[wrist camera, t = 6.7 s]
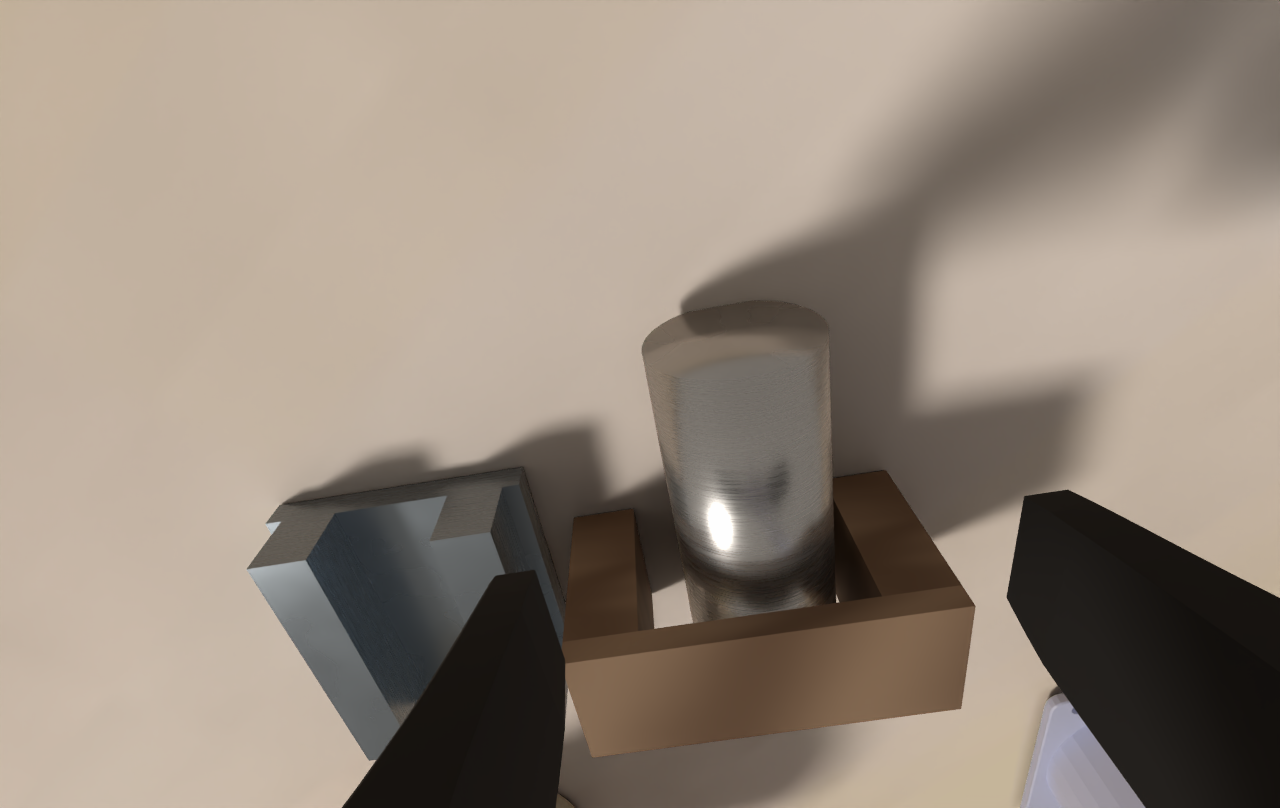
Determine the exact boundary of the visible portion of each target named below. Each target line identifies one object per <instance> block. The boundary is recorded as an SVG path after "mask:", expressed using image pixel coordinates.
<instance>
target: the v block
mask: <svg viewBox="0 0 1280 808" xmlns="http://www.w3.org/2000/svg"><path fill="white" fill-rule="evenodd" d="M266 526H267V527H268V529H269V531H270V533H271V534H272V535H271V536H270V538H269V539H268V540H267V542H266V543H265V545H264V546H263V547H262V549H261V550H260V551H259V553H258V554H257V556H256V557H255V558H254V560H253V561H252V562H251V564H250V565H249V567H248V568H247V571H248V572H249V574H250V576H251V577H252V579H253V580H254V582H255V583H256V585H257V586H258V588H259V590H260V591H261V593H262V594H263V596H264V597H265V599H266V601H267V602H268V604H269V605H270V607H271V608H272V610H273V611H274V613H275V615H276V616H277V618H278V619H279V621H280V622H281V624H282V625H283V627H284V629H285V630H286V632H287V633H288V635H289V636H290V638H291V640H292V641H293V643H294V644H295V646H296V647H297V649H298V650H299V652H300V654H301V655H302V657H303V658H304V660H305V661H306V663H307V665H308V666H309V668H310V669H311V671H312V672H313V674H314V675H315V677H316V679H317V680H318V682H319V683H320V685H321V686H322V688H323V690H324V691H325V693H326V694H327V696H328V697H329V699H330V700H331V702H332V704H333V705H334V707H335V708H336V710H337V711H338V713H339V714H340V716H341V718H342V719H343V721H344V722H345V724H346V725H347V727H348V729H349V730H350V732H351V733H352V735H353V736H354V738H355V739H356V741H357V743H358V744H359V746H360V747H361V749H362V750H363V752H364V754H365V755H366V757H367V758H368V760H369V761H370V760H377V759H378V757H379V756H380V754H381V753H382V752H383V750H384V749H385V747H386V746H387V744H388V743H389V742H390V740H391V739H392V737H393V736H394V734H395V733H396V732H397V730H398V729H399V727H400V726H401V724H402V723H403V722H404V720H405V719H406V717H407V716H408V714H409V713H410V711H411V710H412V708H413V707H414V705H415V703H416V702H417V700H418V699H419V697H420V696H421V694H422V693H423V691H424V689H425V688H426V686H427V685H428V683H429V682H430V680H431V679H432V677H433V675H434V674H435V672H436V671H437V669H438V668H439V666H440V665H441V663H442V661H443V660H444V658H445V657H446V655H447V653H448V652H449V650H450V648H451V647H452V645H453V644H454V642H455V640H456V639H457V637H458V635H459V634H460V632H461V630H462V629H463V627H464V625H465V624H466V622H467V620H468V619H469V617H470V615H471V614H472V612H473V610H474V609H475V607H476V605H477V604H478V602H479V600H480V598H481V597H482V595H483V593H484V592H485V590H486V588H487V587H488V585H489V583H490V582H491V581H492V579H493V578H494V577H495V576H496V575H503V574H509V573H516V572H523V571H529V570H535V571H536V574H537V577H538V580H539V583H540V586H541V589H542V592H543V595H544V598H545V601H546V604H547V607H548V610H549V613H550V616H551V619H552V622H553V625H554V628H555V631H556V634H557V637H558V640H559V643H560V646H561V649H562V641H563V631H564V620H565V609H566V604H565V600H564V597H563V594H562V591H561V588H560V585H559V581H558V578H557V575H556V572H555V569H554V565H553V562H552V559H551V556H550V553H549V549H548V546H547V543H546V540H545V537H544V533H543V530H542V527H541V524H540V521H539V517H538V514H537V511H536V508H535V505H534V501H533V498H532V495H531V492H530V489H529V485H528V482H527V479H526V476H525V473H524V469H523V467H520V468H514V469H507V470H501V471H495V472H488V473H482V474H476V475H469V476H463V477H456V478H450V479H444V480H437V481H431V482H425V483H418V484H412V485H406V486H399V487H393V488H386V489H380V490H374V491H367V492H361V493H355V494H348V495H342V496H336V497H329V498H323V499H317V500H310V501H304V502H297V503H291V504H285V505H279V507H278V508H277V509H276V511H275V512H274V513H273V515H272V516H271V517H270V519H269V520H268V521H267V522H266ZM567 692H568V685H567V682H566V679H565V718H566V705H567Z"/></svg>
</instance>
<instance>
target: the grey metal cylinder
mask: <svg viewBox="0 0 1280 808" xmlns="http://www.w3.org/2000/svg"><path fill="white" fill-rule="evenodd" d="M642 356H643V361H644V366H645V372H646V377H647V382H648V387H649V393H650V398H651V403H652V409H653V414H654V419H655V424H656V430H657V435H658V440H659V446H660V451H661V456H662V461H663V467H664V472H665V477H666V483H667V488H668V493H669V498H670V504H671V509H672V514H673V520H674V525H675V530H676V535H677V541H678V546H679V551H680V557H681V562H682V567H683V572H684V578H685V583H686V588H687V594H688V599H689V604H690V609H691V615H692V620H693V623H699V622H706V621H713V620H720V619H727V618H734V617H741V616H748V615H755V614H762V613H769V612H776V611H783V610H790V609H797V608H804V607H811V606H818V605H825V604H833V603H836V583H835V545H834V508H833V470H832V432H831V394H830V357H829V327H828V324H827V322H826V321H825V319H824V318H823V317H822V316H820V315H819V314H818V313H816V312H814V311H813V310H810V309H808V308H805V307H802V306H799V305H795V304H791V303H785V302H777V301H747V302H741V303H736V304H730V305H724V306H719V307H713V308H707V309H702V310H696V311H690V312H687V313H684V314H681V315H679V316H676V317H674V318H672V319H670V320H668V321H666V322H665V323H663V324H661V325H660V326H658V327H657V328H656V329H654V330H653V331H652V332H651V333H650V334H649V335H648V336H647V337H646V339H645V341H644V343H643V346H642Z"/></svg>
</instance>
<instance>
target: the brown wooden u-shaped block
mask: <svg viewBox="0 0 1280 808" xmlns="http://www.w3.org/2000/svg"><path fill="white" fill-rule="evenodd" d="M833 508H834V545H835V583H836V595H837V597H838V600H839V602H840V603H833V604H825V605H818V606H811V607H804V608H797V609H790V610H783V611H776V612H769V613H762V614H755V615H748V616H741V617H734V618H727V619H720V620H713V621H706V622H699V623H692V624H685V625H678V626H671V627H664V628H657V629H654V618H653V603H652V593H651V588H650V584H649V579H648V574H647V570H646V565H645V560H644V556H643V551H642V547H641V542H640V537H639V533H638V528H637V523H636V519H635V514H634V509H628V510H621V511H615V512H608V513H602V514H595V515H589V516H582V517H575V518H574V522H573V533H572V544H571V555H570V566H569V576H568V587H567V598H566V609H565V620H564V631H563V641H562V652H563V655H564V658H565V679H566V682H567V685H568V688H569V691H570V694H571V697H572V700H573V703H574V706H575V709H576V712H577V715H578V717H579V720H580V723H581V726H582V729H583V732H584V735H585V738H586V741H587V744H588V747H589V750H590V753H591V756H592V758H594V757H601V756H609V755H616V754H624V753H631V752H639V751H646V750H654V749H661V748H669V747H676V746H684V745H691V744H699V743H707V742H714V741H722V740H729V739H737V738H744V737H752V736H759V735H767V734H774V733H782V732H789V731H797V730H805V729H812V728H820V727H827V726H835V725H842V724H850V723H857V722H865V721H872V720H880V719H887V718H895V717H903V716H910V715H918V714H925V713H933V712H940V711H948V710H955V709H961V706H962V699H963V691H964V684H965V677H966V670H967V663H968V656H969V649H970V641H971V634H972V627H973V620H974V613H975V605H974V603H973V602H972V600H971V598H970V597H969V595H968V594H967V592H966V591H965V589H964V588H963V586H962V585H961V583H960V582H959V580H958V579H957V577H956V576H955V574H954V573H953V571H952V570H951V568H950V567H949V565H948V564H947V562H946V561H945V559H944V558H943V556H942V555H941V553H940V552H939V550H938V548H937V547H936V545H935V544H934V542H933V541H932V539H931V538H930V536H929V535H928V533H927V532H926V530H925V529H924V527H923V526H922V524H921V523H920V521H919V520H918V518H917V517H916V515H915V514H914V512H913V511H912V509H911V508H910V506H909V505H908V503H907V502H906V500H905V498H904V497H903V495H902V494H901V492H900V491H899V489H898V488H897V486H896V485H895V483H894V482H893V480H892V479H891V477H890V476H889V474H888V473H887V471H886V470H884V471H877V472H871V473H864V474H857V475H851V476H844V477H838V478H833Z"/></svg>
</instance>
